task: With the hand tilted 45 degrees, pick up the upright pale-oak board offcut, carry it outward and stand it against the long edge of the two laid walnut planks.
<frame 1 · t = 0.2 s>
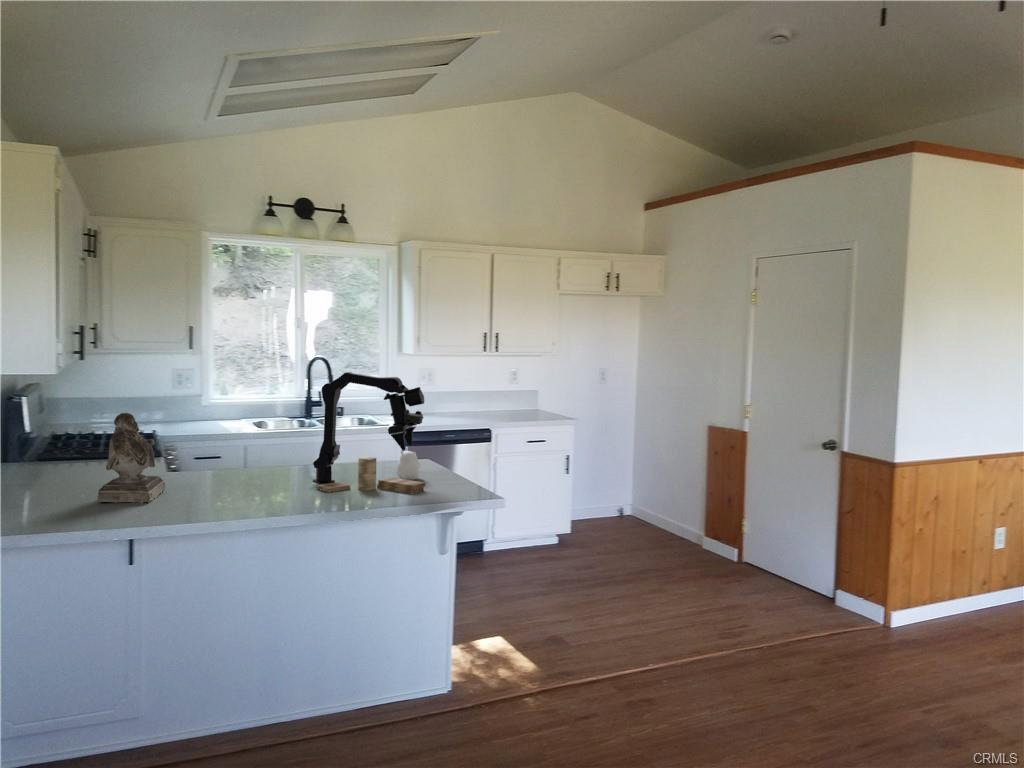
hand: (407, 447, 292), 15 cm above the table, tool pointing down, fingers open, 9 cm apart
upright offcut: (367, 488, 287), on the table
sculpture: (132, 498, 263), on the table
plank stack: (400, 489, 287), on the table
loose offcut: (333, 489, 285), on the table
figurine: (408, 480, 306), on the table
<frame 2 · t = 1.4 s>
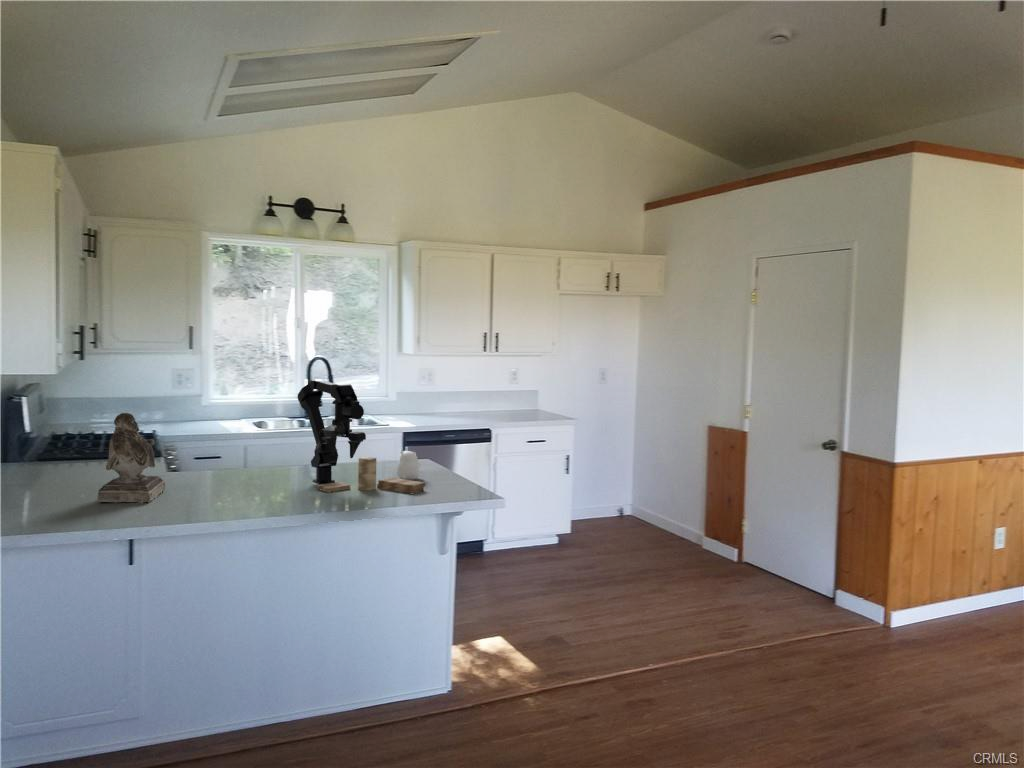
hand: (342, 456, 287), 12 cm above the table, tool pointing down, fingers open, 9 cm apart
nothing on the table moved.
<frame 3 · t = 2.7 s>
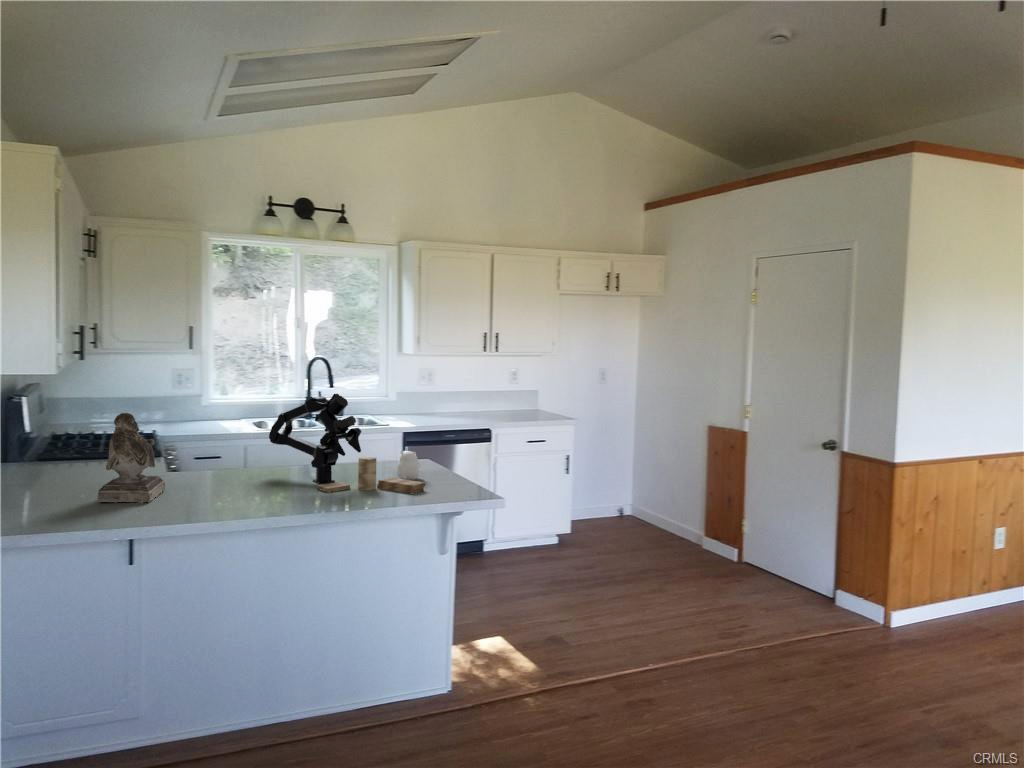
hand: (352, 453, 289), 13 cm above the table, tool tilted 45°, fingers open, 9 cm apart
nothing on the table moved.
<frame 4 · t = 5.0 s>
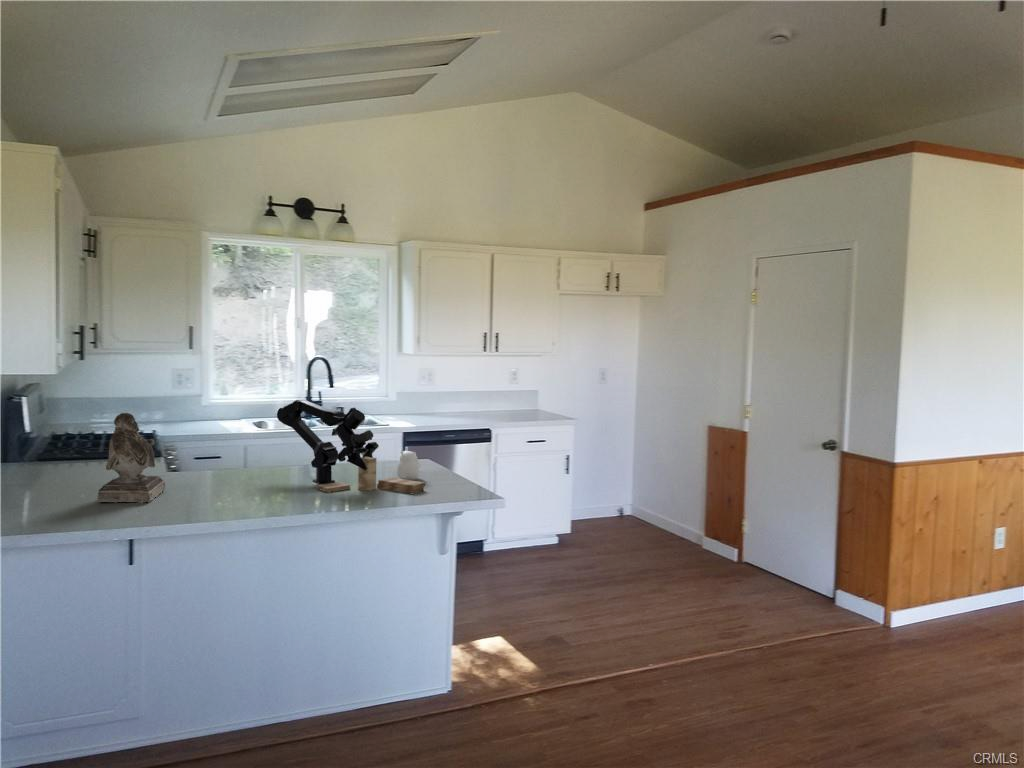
hand: (370, 468, 286), 8 cm above the table, tool tilted 45°, fingers closed on upright offcut, 4 cm apart
upright offcut: (367, 488, 287), on the table, touching gripper
everything else where it was.
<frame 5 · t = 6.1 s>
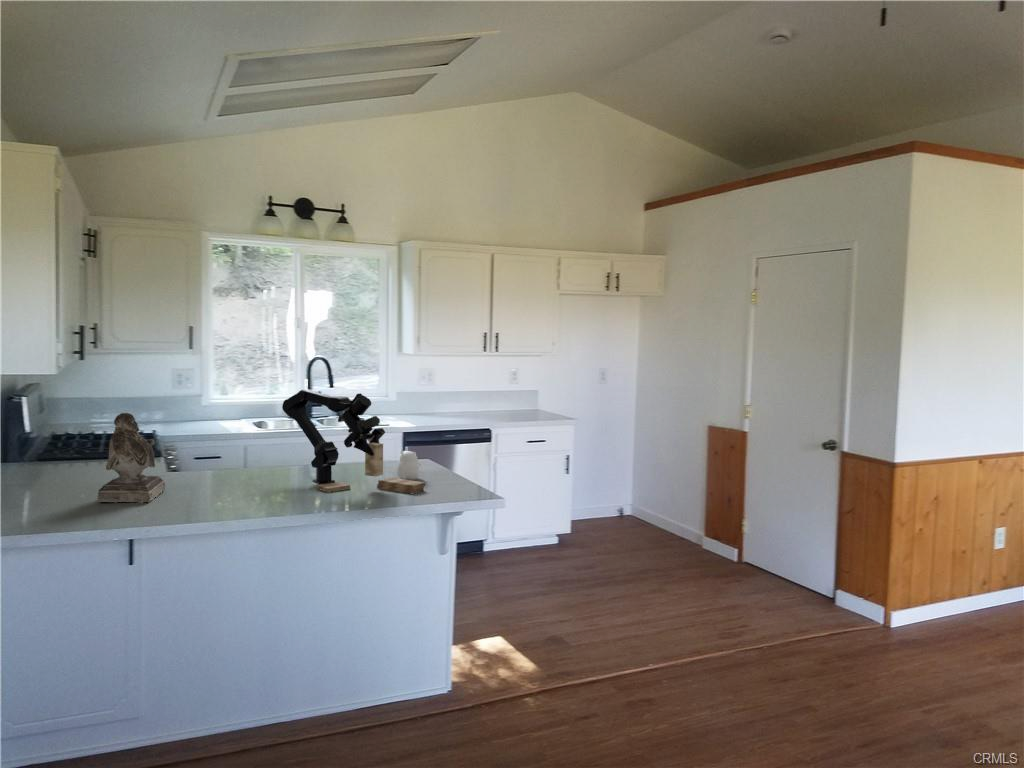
hand: (377, 454, 284), 14 cm above the table, tool tilted 45°, fingers closed on upright offcut, 4 cm apart
upright offcut: (374, 474, 285), point 6 cm above the table, touching gripper
everything else where it was.
when the fingers open (9 cm above the table, at t = 7.6 s): upright offcut drops 1 cm, on the table.
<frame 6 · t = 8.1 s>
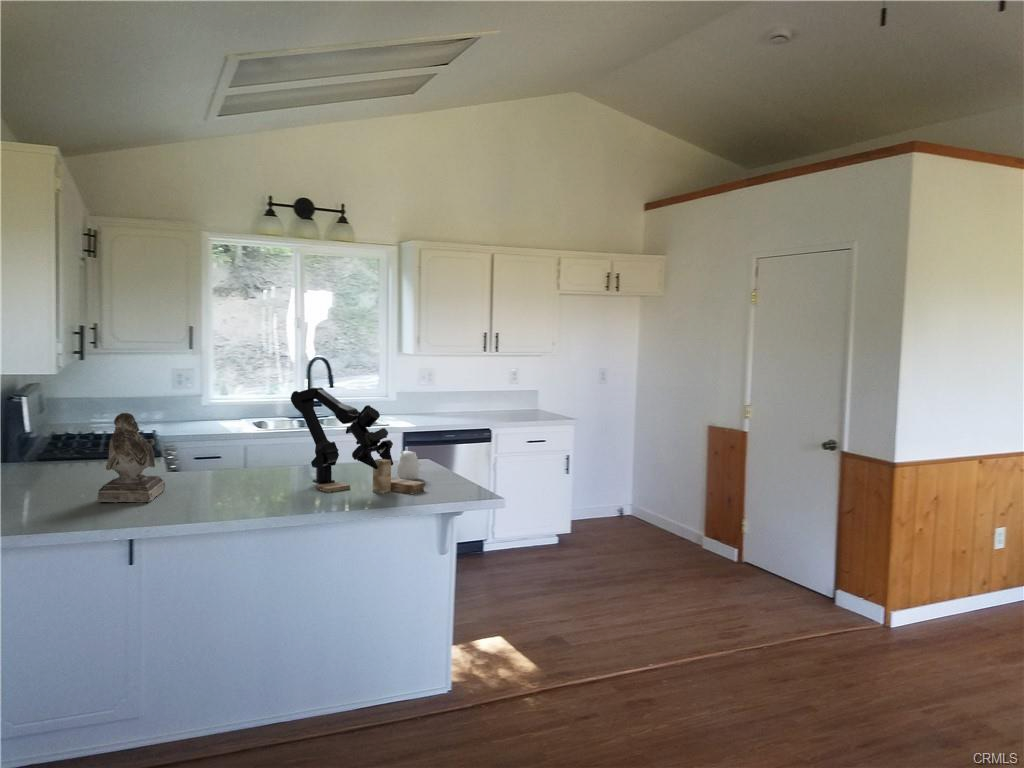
hand: (385, 466, 282), 10 cm above the table, tool tilted 45°, fingers open, 9 cm apart
upright offcut: (381, 491, 284), on the table
everything else where it was.
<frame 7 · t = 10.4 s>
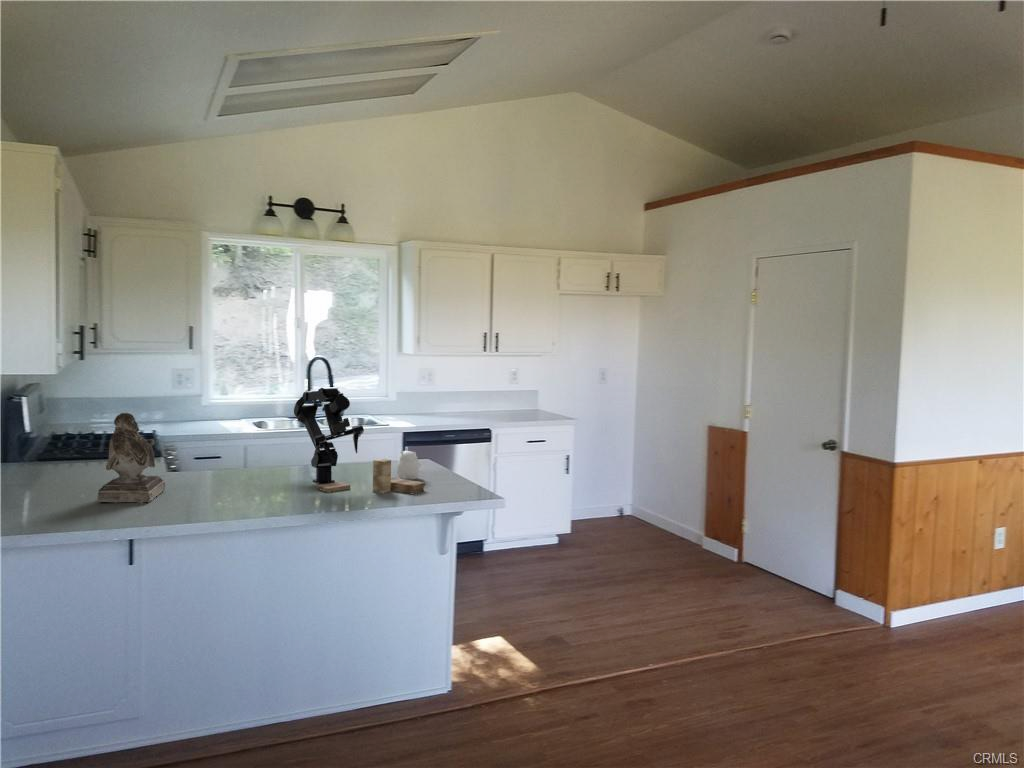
hand: (344, 456, 286), 12 cm above the table, tool tilted 25°, fingers open, 9 cm apart
nothing on the table moved.
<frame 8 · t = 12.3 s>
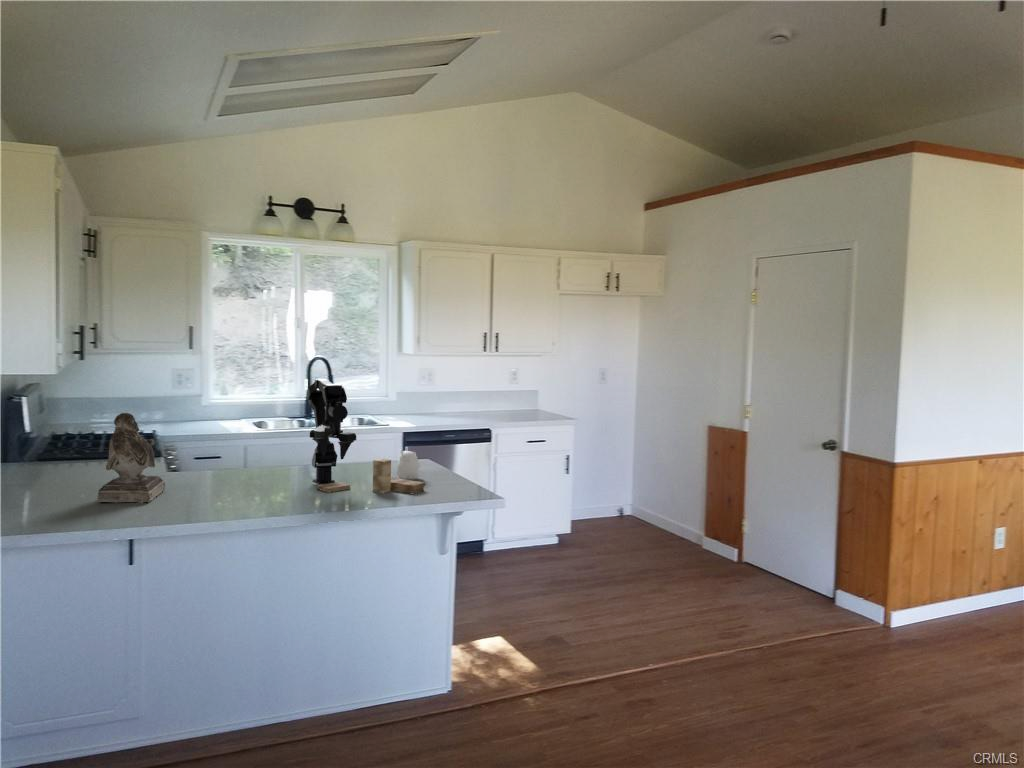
hand: (332, 457, 284), 12 cm above the table, tool pointing down, fingers open, 9 cm apart
nothing on the table moved.
at the end: upright offcut tilted 0°; upright offcut 0.1 cm from the target spot, on the table; the gripper is holding nothing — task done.
